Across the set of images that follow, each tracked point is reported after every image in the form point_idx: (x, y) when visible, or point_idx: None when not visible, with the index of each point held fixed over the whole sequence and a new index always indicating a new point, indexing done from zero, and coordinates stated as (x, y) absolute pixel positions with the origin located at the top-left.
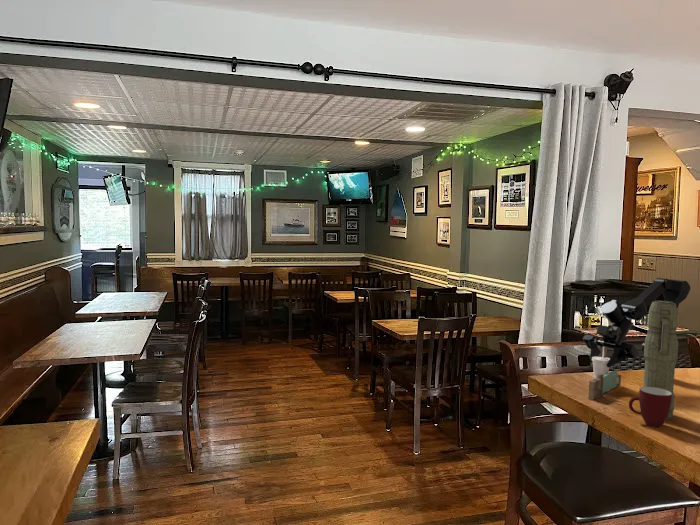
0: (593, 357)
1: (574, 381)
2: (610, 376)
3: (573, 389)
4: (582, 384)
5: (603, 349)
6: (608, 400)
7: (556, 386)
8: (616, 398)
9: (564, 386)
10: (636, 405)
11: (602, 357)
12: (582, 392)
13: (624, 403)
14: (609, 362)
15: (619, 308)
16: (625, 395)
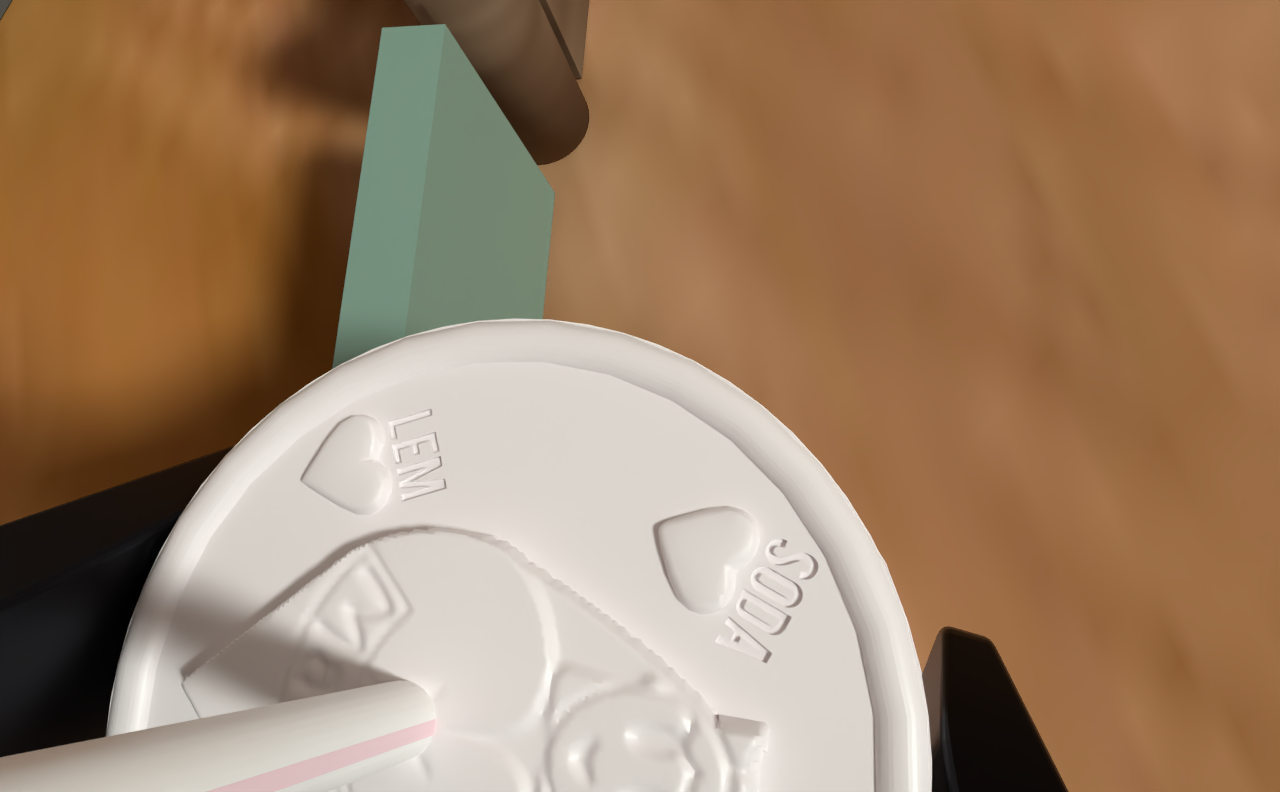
0: (846, 668)
1: (1197, 614)
2: None
3: (951, 81)
4: (975, 517)
5: (2, 766)
6: (383, 4)
7: (1254, 2)
8: (318, 177)
9: (1152, 117)
10: (79, 98)
11: (407, 698)
12: (776, 50)
13: (202, 54)
14: (165, 479)
15: None
16: (242, 433)
